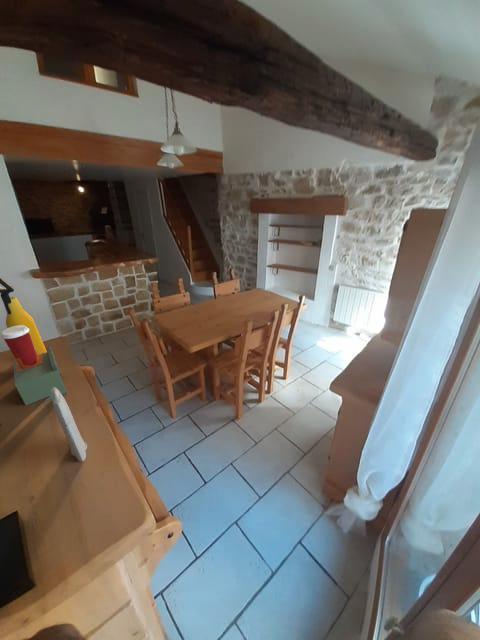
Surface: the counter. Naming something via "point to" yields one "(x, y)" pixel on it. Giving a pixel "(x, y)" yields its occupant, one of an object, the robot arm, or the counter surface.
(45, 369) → the sage green crate
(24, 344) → the paper cup
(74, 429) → the tall pale column
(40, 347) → the yellow bottle
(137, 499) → the counter surface
